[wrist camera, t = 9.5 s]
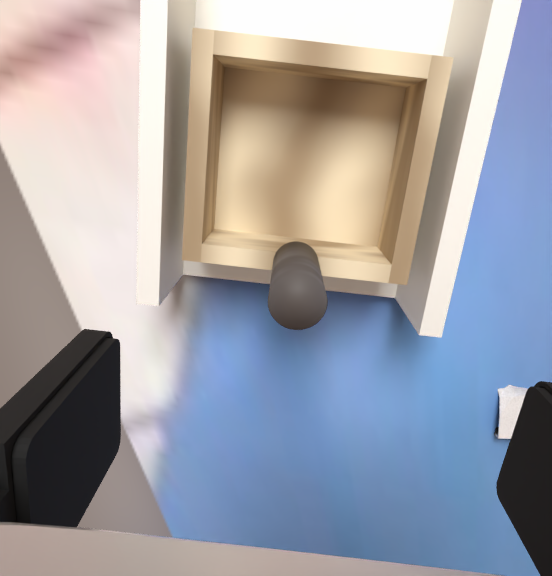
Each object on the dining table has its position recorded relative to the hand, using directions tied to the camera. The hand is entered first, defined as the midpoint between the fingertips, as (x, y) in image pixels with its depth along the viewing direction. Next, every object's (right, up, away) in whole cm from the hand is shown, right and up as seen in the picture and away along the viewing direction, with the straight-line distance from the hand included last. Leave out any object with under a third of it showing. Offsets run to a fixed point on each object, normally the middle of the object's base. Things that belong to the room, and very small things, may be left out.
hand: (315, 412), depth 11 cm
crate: (+1, +10, +17) cm, 20 cm away
